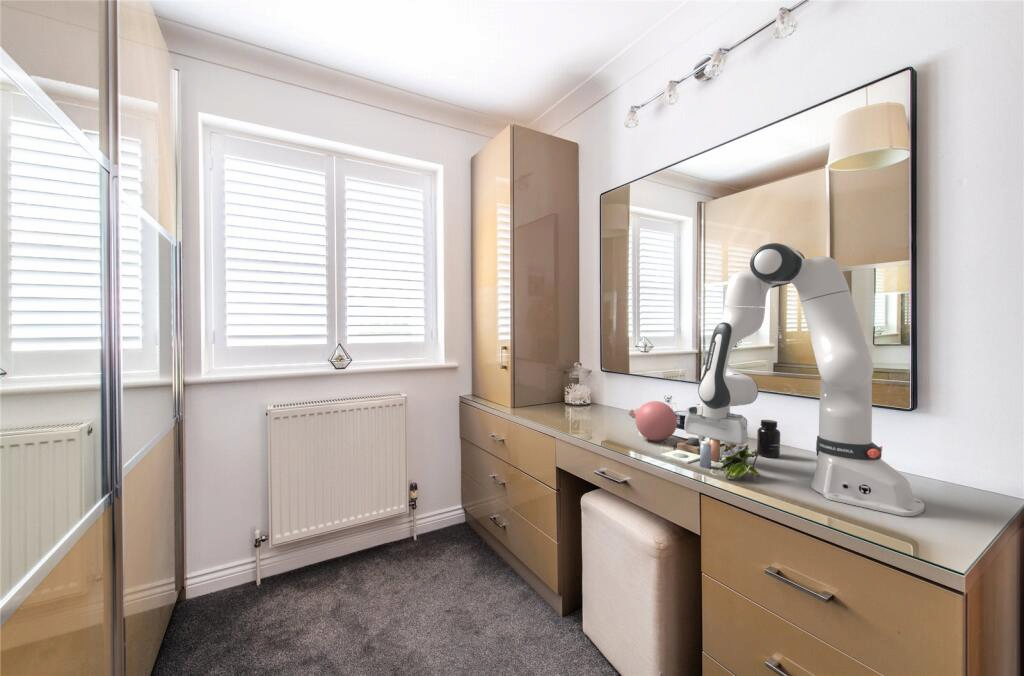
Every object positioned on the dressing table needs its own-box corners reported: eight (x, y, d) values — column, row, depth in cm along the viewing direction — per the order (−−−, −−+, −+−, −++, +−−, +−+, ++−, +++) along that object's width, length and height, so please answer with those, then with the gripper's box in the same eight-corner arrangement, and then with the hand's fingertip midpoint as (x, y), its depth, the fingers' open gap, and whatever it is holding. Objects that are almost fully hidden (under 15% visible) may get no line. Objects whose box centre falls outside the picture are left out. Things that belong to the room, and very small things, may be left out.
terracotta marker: (721, 460, 140) (722, 436, 140) (716, 462, 138) (716, 438, 138) (712, 457, 143) (712, 434, 143) (707, 459, 141) (707, 436, 141)
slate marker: (713, 466, 133) (713, 442, 133) (707, 468, 132) (707, 443, 131) (703, 464, 136) (703, 440, 136) (697, 466, 134) (698, 441, 134)
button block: (710, 451, 150) (710, 444, 150) (697, 455, 145) (697, 448, 145) (689, 446, 157) (689, 440, 157) (677, 450, 152) (677, 443, 152)
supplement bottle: (776, 459, 141) (776, 424, 140) (753, 455, 146) (754, 420, 146) (782, 455, 145) (783, 421, 145) (761, 451, 150) (761, 418, 150)
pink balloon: (640, 431, 180) (640, 395, 179) (684, 441, 164) (684, 401, 164) (617, 437, 170) (618, 399, 170) (662, 448, 155) (662, 406, 154)
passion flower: (729, 490, 128) (735, 453, 134) (766, 494, 120) (771, 455, 125) (708, 474, 124) (716, 436, 129) (745, 477, 115) (752, 437, 120)
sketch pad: (704, 458, 142) (704, 456, 142) (687, 463, 137) (687, 461, 137) (677, 451, 151) (677, 449, 151) (660, 455, 145) (660, 453, 145)
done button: (701, 447, 151) (701, 438, 151) (695, 448, 149) (695, 440, 148) (691, 445, 154) (691, 436, 153) (686, 446, 151) (686, 438, 151)
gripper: (752, 414, 134) (751, 458, 134) (692, 405, 150) (692, 443, 151) (742, 417, 130) (741, 461, 130) (682, 407, 147) (681, 446, 147)
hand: (714, 452), depth 140 cm, fingers open, 5 cm apart
